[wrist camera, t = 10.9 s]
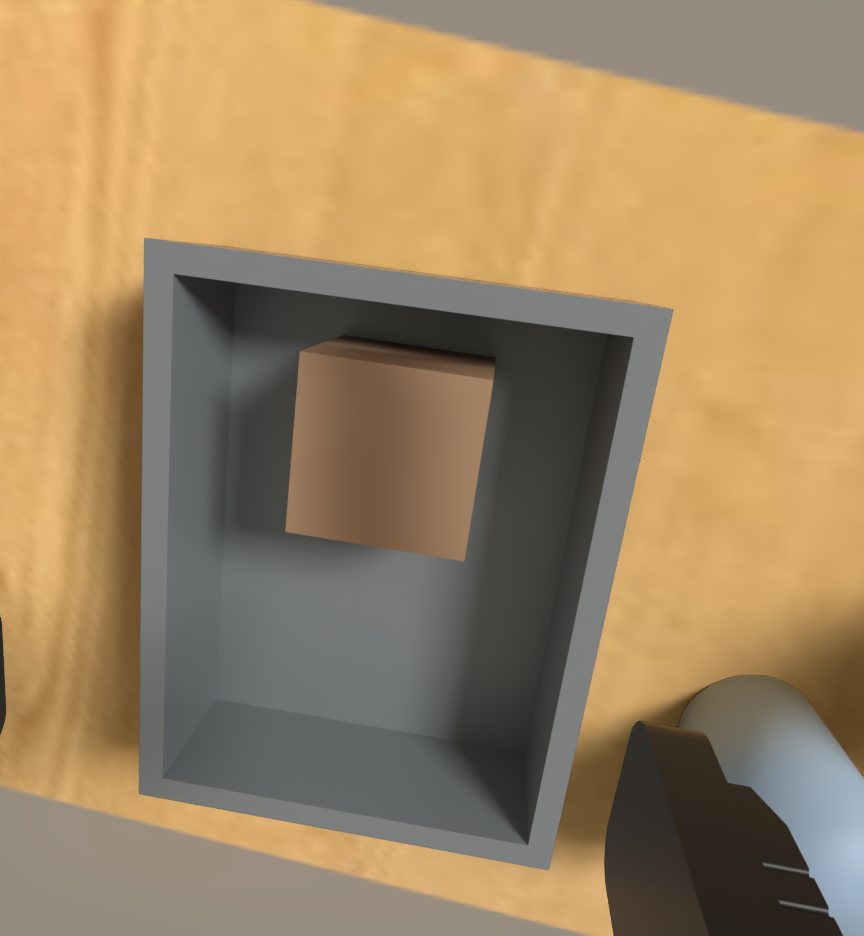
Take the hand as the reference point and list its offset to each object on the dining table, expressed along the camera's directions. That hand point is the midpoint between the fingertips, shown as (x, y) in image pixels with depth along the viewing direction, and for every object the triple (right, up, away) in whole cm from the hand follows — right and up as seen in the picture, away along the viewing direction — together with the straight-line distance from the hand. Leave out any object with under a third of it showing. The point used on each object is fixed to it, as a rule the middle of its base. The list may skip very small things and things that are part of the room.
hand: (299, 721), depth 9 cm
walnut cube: (+1, +5, +14) cm, 15 cm away
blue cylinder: (+13, -7, +17) cm, 23 cm away
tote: (0, +1, +16) cm, 16 cm away
